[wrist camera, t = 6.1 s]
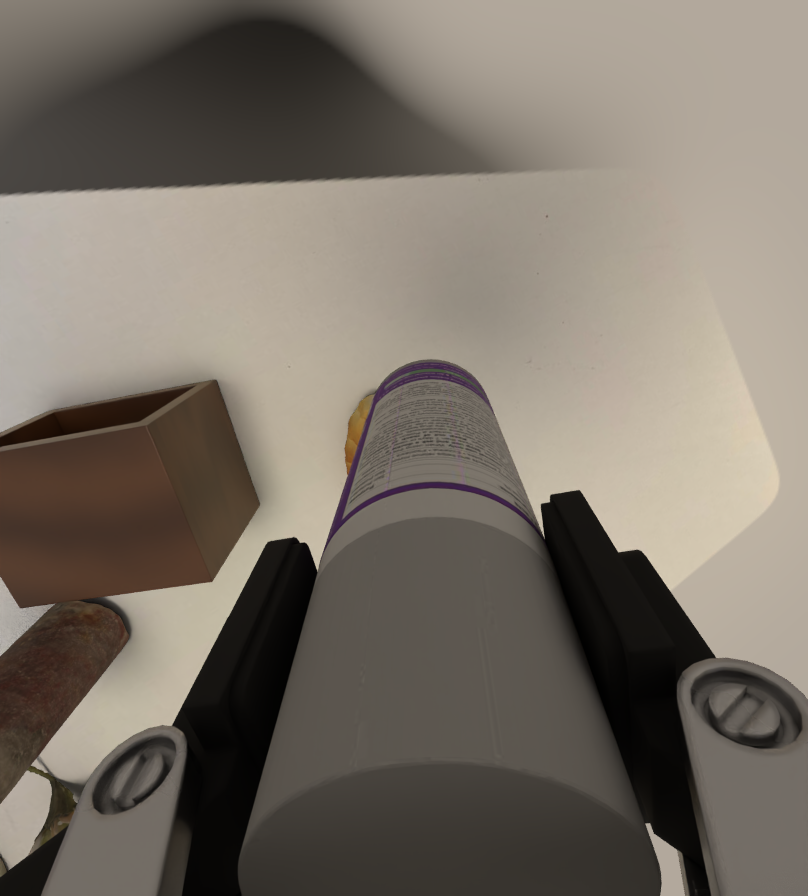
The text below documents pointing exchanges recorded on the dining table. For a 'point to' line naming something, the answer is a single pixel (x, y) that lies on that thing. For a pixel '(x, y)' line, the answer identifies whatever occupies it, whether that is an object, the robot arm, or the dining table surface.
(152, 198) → the dining table surface
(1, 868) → the dome
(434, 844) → the container
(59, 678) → the brown rounded bar
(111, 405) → the shelf
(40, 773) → the artificial flower
